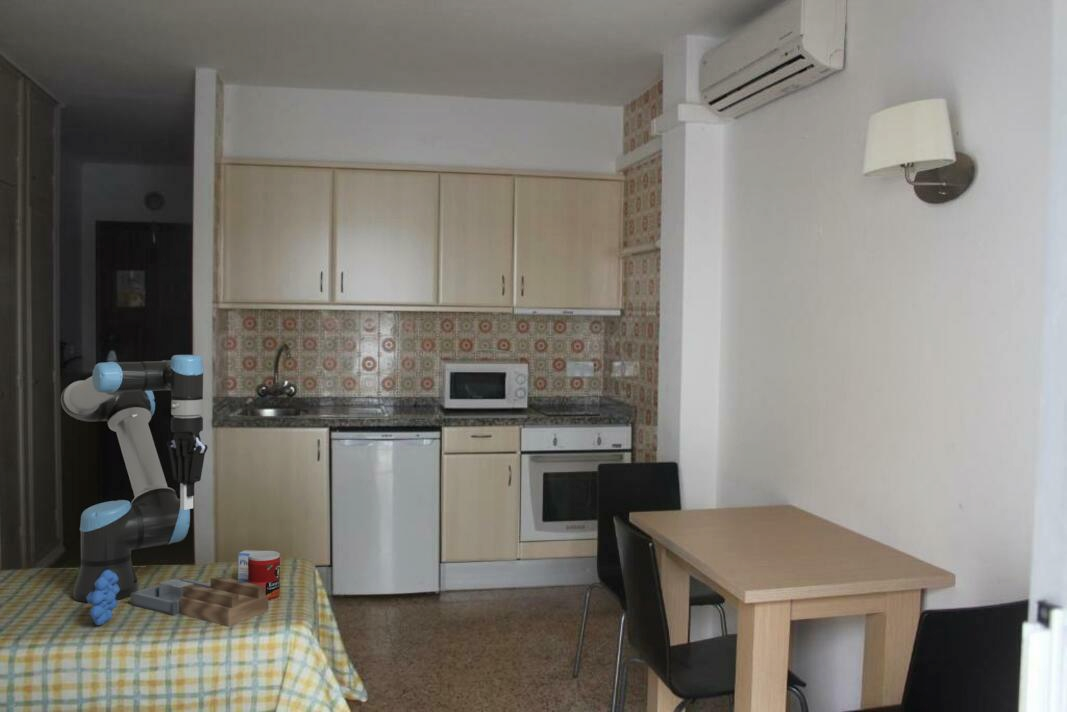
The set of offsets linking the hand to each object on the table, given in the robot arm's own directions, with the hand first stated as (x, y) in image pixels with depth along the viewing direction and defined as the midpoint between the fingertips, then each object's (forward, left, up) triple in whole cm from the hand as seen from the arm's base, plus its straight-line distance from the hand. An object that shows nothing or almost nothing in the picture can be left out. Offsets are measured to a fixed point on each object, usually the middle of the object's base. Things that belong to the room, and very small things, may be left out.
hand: (186, 508), depth 215 cm
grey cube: (+1, -2, -23) cm, 23 cm away
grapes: (-3, -21, -24) cm, 32 cm away
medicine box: (+4, +19, -24) cm, 30 cm away
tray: (-1, -2, -23) cm, 23 cm away
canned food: (+15, +12, -24) cm, 30 cm away
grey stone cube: (-1, -2, -21) cm, 21 cm away
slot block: (+16, -2, -23) cm, 29 cm away
